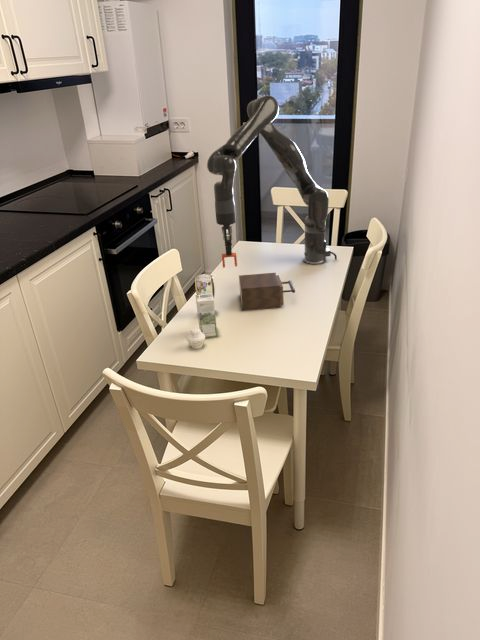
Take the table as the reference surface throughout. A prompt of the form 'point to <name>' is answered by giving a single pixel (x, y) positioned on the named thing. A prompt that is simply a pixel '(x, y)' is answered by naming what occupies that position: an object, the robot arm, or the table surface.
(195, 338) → the muffin
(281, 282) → the drawer
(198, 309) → the syrup box
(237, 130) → the robot arm
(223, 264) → the orange angular part
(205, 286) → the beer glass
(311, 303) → the table surface
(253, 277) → the cabinet
